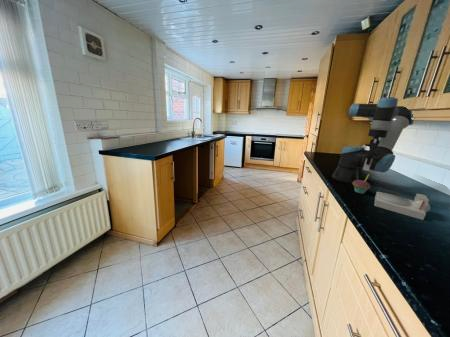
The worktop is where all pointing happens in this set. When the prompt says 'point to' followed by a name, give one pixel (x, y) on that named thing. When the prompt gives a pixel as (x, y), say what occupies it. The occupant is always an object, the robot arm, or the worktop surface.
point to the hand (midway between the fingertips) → (366, 168)
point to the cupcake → (361, 185)
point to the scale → (403, 204)
